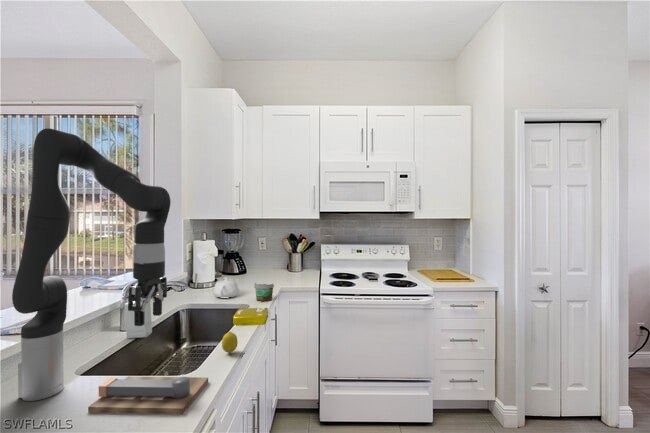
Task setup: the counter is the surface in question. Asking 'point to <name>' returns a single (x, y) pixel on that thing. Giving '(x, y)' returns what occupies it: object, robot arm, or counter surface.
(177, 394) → the swing arm
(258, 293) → the food container
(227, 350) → the lemon
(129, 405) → the label board
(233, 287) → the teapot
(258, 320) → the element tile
